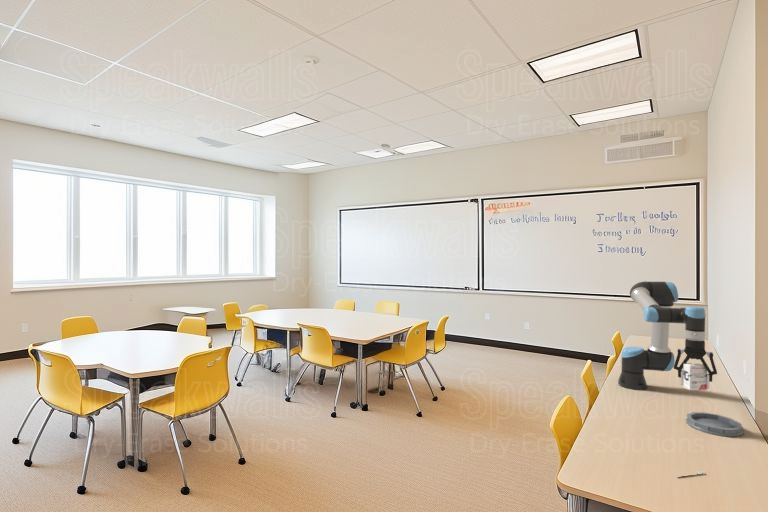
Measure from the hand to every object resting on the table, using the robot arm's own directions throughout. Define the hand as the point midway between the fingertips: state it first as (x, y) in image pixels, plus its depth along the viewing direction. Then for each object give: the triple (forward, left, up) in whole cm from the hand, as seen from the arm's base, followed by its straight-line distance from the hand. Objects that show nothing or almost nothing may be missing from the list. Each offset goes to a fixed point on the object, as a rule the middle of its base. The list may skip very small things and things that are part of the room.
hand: (694, 386), depth 200 cm
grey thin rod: (-5, -57, -19) cm, 61 cm away
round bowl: (+7, 0, -18) cm, 19 cm away
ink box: (0, 0, -1) cm, 1 cm away
